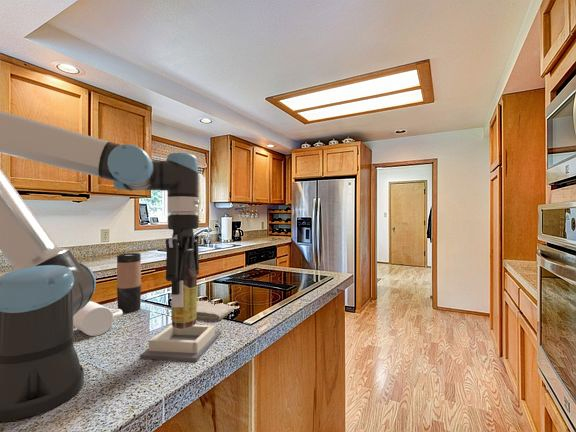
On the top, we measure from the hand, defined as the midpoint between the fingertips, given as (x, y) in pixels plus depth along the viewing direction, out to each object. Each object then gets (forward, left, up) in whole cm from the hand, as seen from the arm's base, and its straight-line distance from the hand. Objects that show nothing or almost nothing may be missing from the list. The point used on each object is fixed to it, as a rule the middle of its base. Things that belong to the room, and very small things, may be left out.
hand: (184, 302), depth 78 cm
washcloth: (+26, +5, -12) cm, 29 cm away
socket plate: (0, 0, -11) cm, 11 cm away
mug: (+8, +31, -11) cm, 34 cm away
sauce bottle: (0, 0, -6) cm, 6 cm away
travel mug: (+26, +34, -11) cm, 44 cm away
